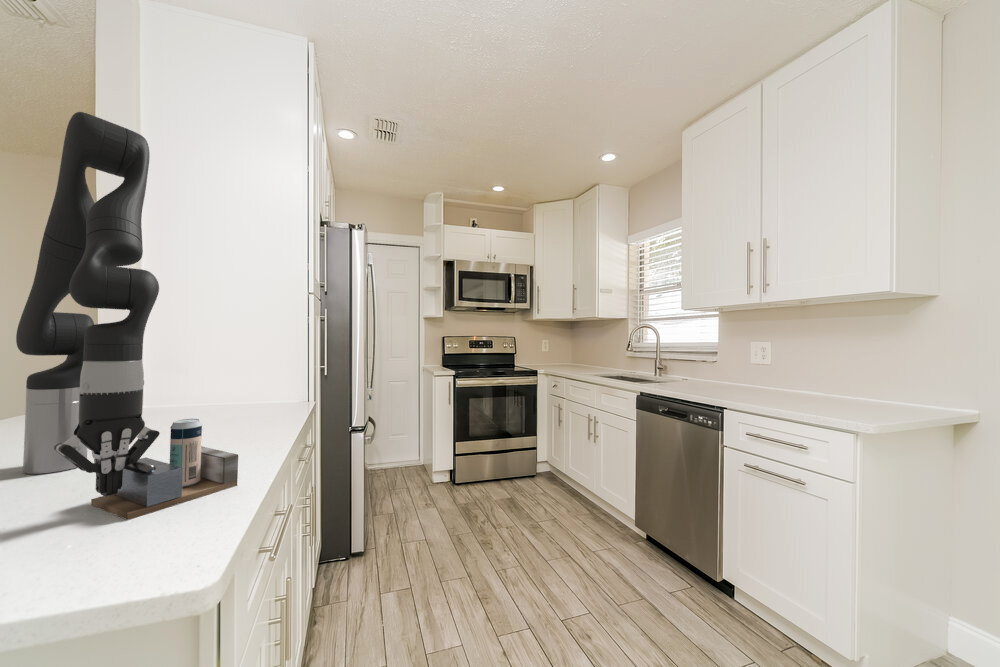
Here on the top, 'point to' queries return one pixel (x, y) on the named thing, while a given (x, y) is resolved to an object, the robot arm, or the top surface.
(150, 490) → the box
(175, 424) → the beer can
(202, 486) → the vise base
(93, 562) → the top surface
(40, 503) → the top surface
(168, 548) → the top surface
